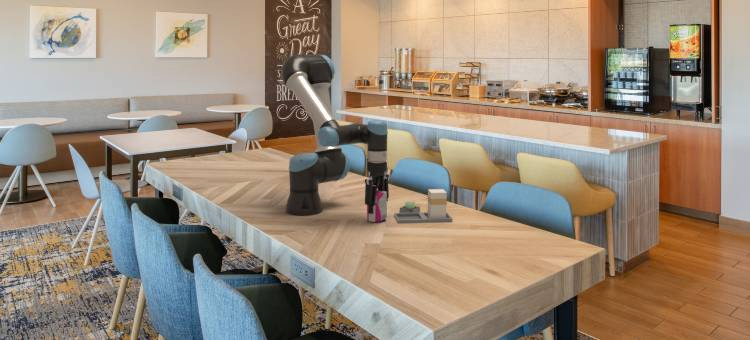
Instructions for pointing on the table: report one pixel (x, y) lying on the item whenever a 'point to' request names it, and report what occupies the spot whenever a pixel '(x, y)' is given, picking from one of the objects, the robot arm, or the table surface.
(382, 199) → the supplement box
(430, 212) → the box
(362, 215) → the table surface
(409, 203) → the button
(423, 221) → the grey divided tray
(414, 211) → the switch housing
